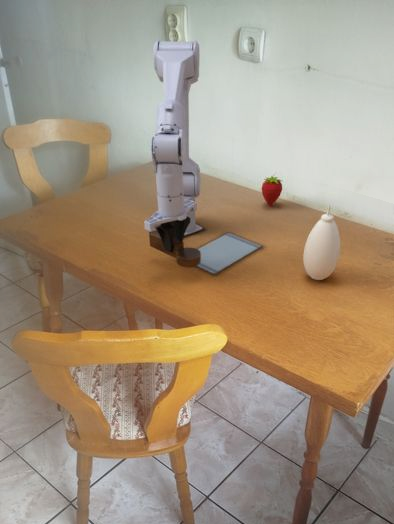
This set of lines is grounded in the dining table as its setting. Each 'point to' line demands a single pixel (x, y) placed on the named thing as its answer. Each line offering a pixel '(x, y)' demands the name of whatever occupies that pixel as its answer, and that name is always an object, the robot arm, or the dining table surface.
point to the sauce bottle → (322, 248)
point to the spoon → (177, 251)
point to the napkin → (224, 252)
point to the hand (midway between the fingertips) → (173, 248)
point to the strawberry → (271, 189)
